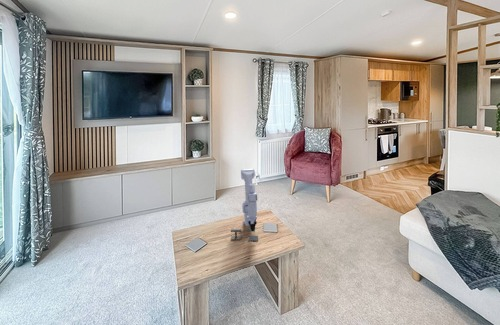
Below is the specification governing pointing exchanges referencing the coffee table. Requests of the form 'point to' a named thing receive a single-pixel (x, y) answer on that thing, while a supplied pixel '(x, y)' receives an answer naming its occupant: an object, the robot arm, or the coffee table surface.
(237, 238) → the stand
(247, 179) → the robot arm
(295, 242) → the coffee table surface
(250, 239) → the mat
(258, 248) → the coffee table surface
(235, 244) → the coffee table surface
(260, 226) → the coffee table surface
